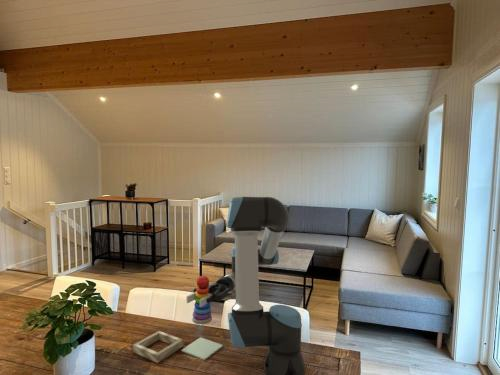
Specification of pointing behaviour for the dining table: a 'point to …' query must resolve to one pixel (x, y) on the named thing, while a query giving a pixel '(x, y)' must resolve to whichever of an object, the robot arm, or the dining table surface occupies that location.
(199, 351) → the sage mat
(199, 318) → the stacking toy
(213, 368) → the dining table surface
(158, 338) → the birch holder
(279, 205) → the robot arm
